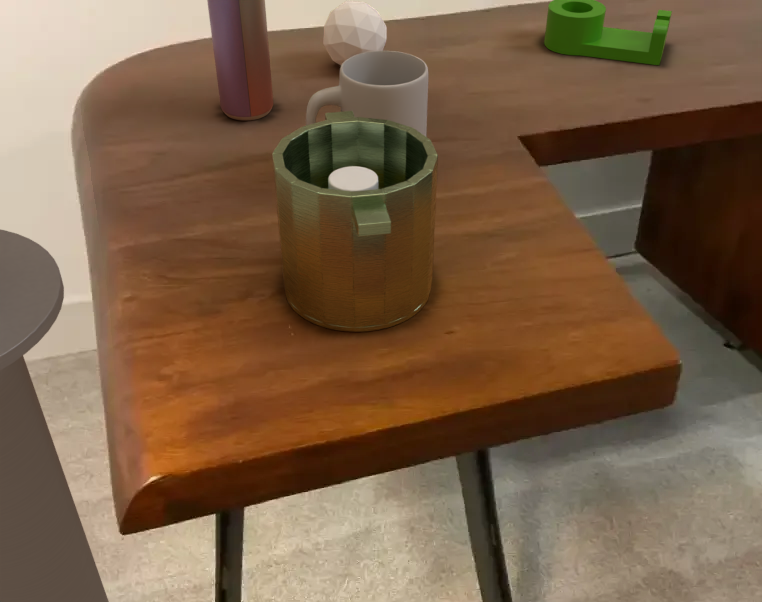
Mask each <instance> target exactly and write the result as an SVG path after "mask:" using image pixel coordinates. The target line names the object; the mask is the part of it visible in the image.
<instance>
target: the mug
mask: <svg viewBox="0 0 762 602" xmlns="http://www.w3.org/2000/svg"><path fill="white" fill-rule="evenodd" d="M339 67H340V68H339V77H338V78H339V79H338V80H339V81H338V85H335V86H330V87H327V88H322V89H320V90H318V91H316V92H314V93H313V94H312V95H311V97H310V98H309V100H308V102H307V106H306V111H305V126H307V125H310V124H314V123H317V117H318V116H317V115H318V113H319V111H320V110H321V109H322V108H324V107H325V106H337V107H339V109H340V112H344V111H353V113H354V116H355V117H363V118H373V119H383V120H390V121H393V122H396V123H399V124H403V125H406V126H409V127H412V128H414V129H416V130H417V131H418V132H420V133H421V134H423V135H424V136H426V137H427V133H428V131H427V130H428V126H427V125H428V99H429V98H428V97H429V67H428V64H427V63H426V62H425V61H424V60H423V59H422V58H420V57H418V56H416V55H414V54H411V53H408V52H402V51H397V50H383V51H371V52H365V53H361V54H357V55H354V56H352V57H350V58H348V59H347V60H345V61H344V62H343V63H342V65H340V66H339Z"/></svg>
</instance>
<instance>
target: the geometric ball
mask: <svg viewBox="0 0 762 602" xmlns="http://www.w3.org/2000/svg"><path fill="white" fill-rule="evenodd" d="M387 28H388V26H387V25H386V23H385V21H384V19H383V17H382V16H381V14H380V13H379V11H378V10H377V9H376V8H374V7H373V6H372V5H370V4H369V3H367V2H364V1H359V0H358V1H356V0H345V1H344V2H342V3H341V4H339V5H338V6H337V7H335V8H334V9H332V10H331V11H330V12H329V14H328V16H327V19H326V21H325V23H324V25H323V37H322V38H323V39H322V45H323V47H324V49H325V50H326V52H327V54H328V55H329V57H330V58H331V59H330V60H331V61H332V62H334V63H336V64H337V65H339V66H341V65H342V63H343V62H344V61H345V60H347V59H348V58H350V57H352V56H354V55H357V54H361V53H365V52H371V51H384V50H385V47H386V43H387V39H388V37H387V34H388V33H387V31H388V29H387Z"/></svg>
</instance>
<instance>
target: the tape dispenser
mask: <svg viewBox="0 0 762 602" xmlns="http://www.w3.org/2000/svg"><path fill="white" fill-rule="evenodd" d="M547 7H548V8H547V14H546V23H545V33H544V40H543V44H544V45H543V46H545V47H546V49H548V50H550V51H552V52H553V53H558V54H561V55H567V56H582V57H590V58H599V59H606V60H614V61H622V62H629V63H636V64H637V63H638V64H645V65H652V66H653V65H654V66H661V61H662V58H663V54H664V49H665V45H666V42H667V36H668V32H669V27H670V22H671V18H672V12H673V11H672V10H665V9H658V10H657V14H656V18H655V20H654V24H653V29H652V32H651V31H649V32H648V31H641V30H633V29H623V28H615V27H609V26H607V27H606V26H604V23H605V19H606V18H605V17H606V11H607V7H606V6H605V4H603V3H602V2H601V1H600V2H599V1H598V0H552V1H550V2H549V3H548V6H547Z"/></svg>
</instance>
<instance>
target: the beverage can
mask: <svg viewBox="0 0 762 602" xmlns="http://www.w3.org/2000/svg"><path fill="white" fill-rule="evenodd" d="M206 1H207V9H208V10H207V11H208V18H209V26H210V34H211V42H212V49H213V57H214V58H213V59H214V65H215V73H216V74H215V75H216V81H217V82H216V83H217V89H218V97H219V105H220V109H221V110H222V112H223V113H224V114H225V115H226V117H228V118H230V119H233V120H237V121H255V120H259V119H261V118H264V117H266V116H267V115H269V114H270V113H271V111H272V109H273V106H274V95H273V82H272V71H271V70H272V69H271V58H270V46H269V35H268V34H269V33H268V22H267V10H266V9H267V8H266V0H206Z"/></svg>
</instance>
